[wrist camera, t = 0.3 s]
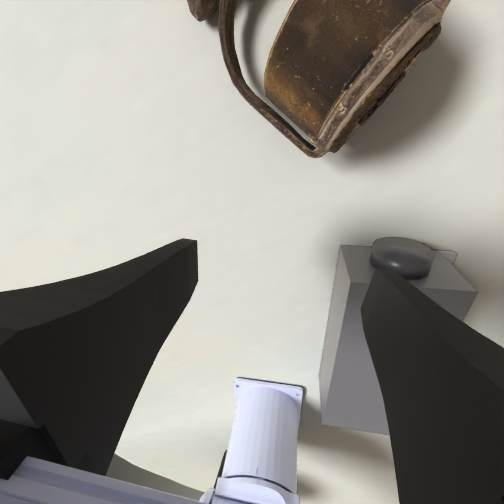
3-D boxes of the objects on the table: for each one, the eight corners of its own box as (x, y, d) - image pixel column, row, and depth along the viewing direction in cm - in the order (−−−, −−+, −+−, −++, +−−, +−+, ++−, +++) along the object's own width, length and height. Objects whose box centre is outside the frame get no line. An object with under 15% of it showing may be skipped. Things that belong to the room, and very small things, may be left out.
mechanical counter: (269, 215, 14) (509, 106, 9) (77, -64, 9) (362, -783, 4) (292, 165, 20) (451, 77, 14) (177, -31, 14) (358, -299, 9)
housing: (398, 386, 27) (417, 439, 22) (318, 375, 28) (322, 424, 24) (460, 236, 18) (509, 275, 14) (342, 230, 20) (353, 265, 15)
